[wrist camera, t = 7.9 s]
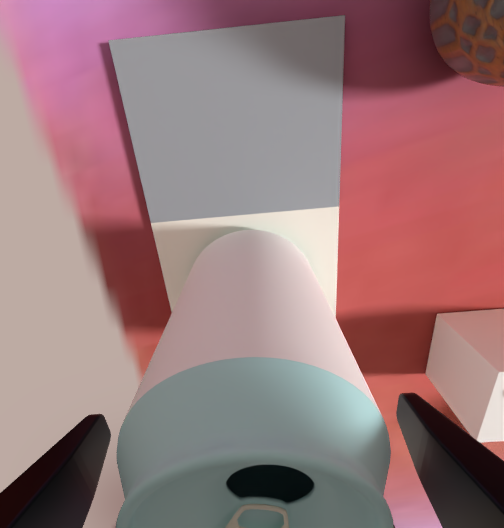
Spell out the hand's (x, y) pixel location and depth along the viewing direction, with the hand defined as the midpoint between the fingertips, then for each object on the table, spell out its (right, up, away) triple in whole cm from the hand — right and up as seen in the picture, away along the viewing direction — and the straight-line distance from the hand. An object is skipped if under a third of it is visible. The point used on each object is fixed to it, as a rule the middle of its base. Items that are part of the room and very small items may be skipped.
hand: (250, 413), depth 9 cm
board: (0, 0, +10) cm, 10 cm away
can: (0, +3, +8) cm, 9 cm away
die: (+14, -1, +10) cm, 18 cm away
